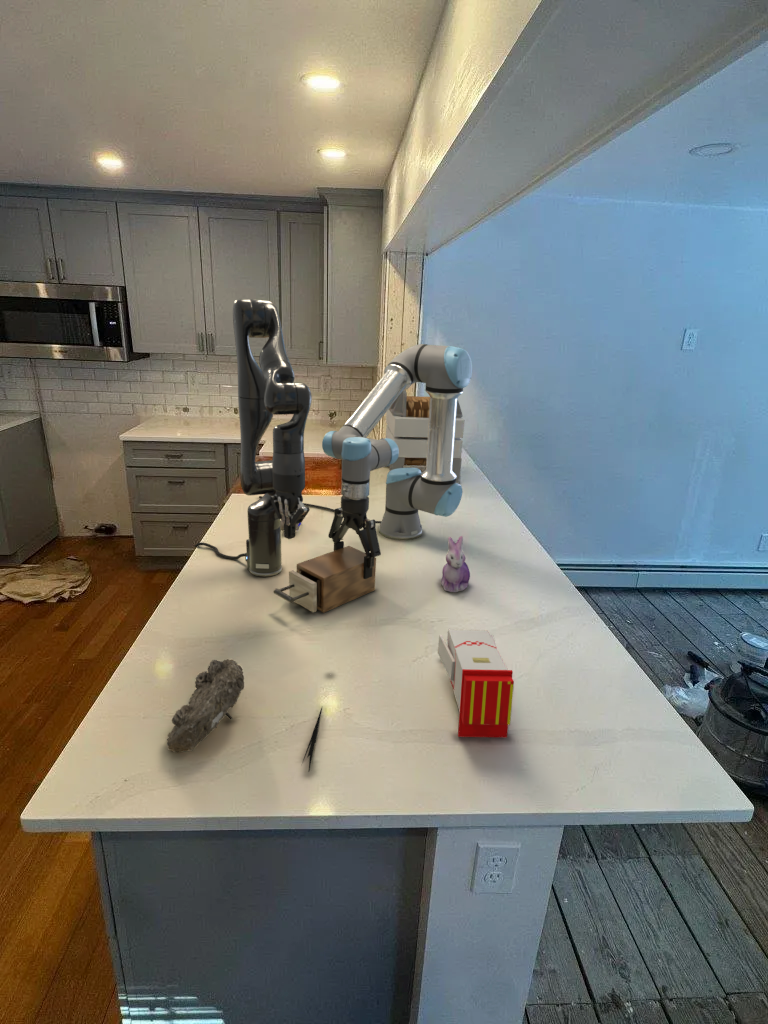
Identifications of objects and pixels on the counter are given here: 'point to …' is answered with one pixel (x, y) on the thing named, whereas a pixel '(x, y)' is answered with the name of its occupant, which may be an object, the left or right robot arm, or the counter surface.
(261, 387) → the left robot arm
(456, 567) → the figurine
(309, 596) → the drawer
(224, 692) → the fossil
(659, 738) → the counter surface
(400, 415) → the white slatted crate
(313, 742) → the feather
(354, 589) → the cabinet
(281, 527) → the black toy vehicle
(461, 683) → the toy
